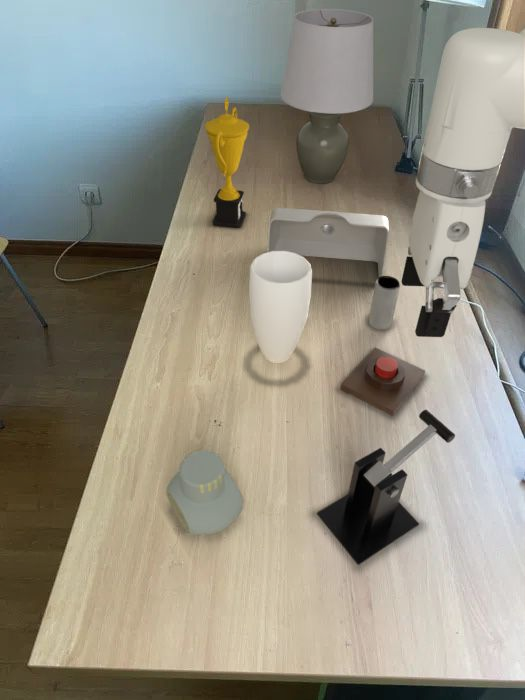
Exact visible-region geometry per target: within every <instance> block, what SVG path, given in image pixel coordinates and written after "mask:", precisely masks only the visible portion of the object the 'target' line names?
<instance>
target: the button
mask: <svg viewBox="0 0 525 700" xmlns="http://www.w3.org/2000/svg"><path fill="white" fill-rule="evenodd" d="M397 368H398V364H397V362H396V361H395V360H394V359H392V358H390V357H381V358H379V359H378V360H377V362H376V367H375V372H376V374H377V375H378V376H380V377H382V378H387V379H389V378H392V377H394V376H395V375H396V372H397Z"/></svg>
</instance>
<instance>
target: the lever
mask: <svg viewBox="0 0 525 700" xmlns="http://www.w3.org/2000/svg"><path fill="white" fill-rule="evenodd" d="M418 418H419V419H420V420H421V421H422V422H423V423H424V424H425V425H426V428H424V429H423V430H422V431H421V432H420V433H419V434H417V436H415V437H414V438H413V439H412V440H411V441H410V442H408V443H407V444H406V445H405V446H404V447H402V449H400V450H399V451H398V452H396V454H395V455H393V456H392V457H390V459H389V460H388V461H387V462H385V463H384V462H383V463H382V462H381V461H378V462H377V463H376V464H375V465H374V466H373V467H372V468H370V469H369V470H368V471H367V472H366V473H365V474H364V477H365V479H366V480H367V482H368V483H369V484H370V485H371V486H372V487H373V488H374V489H375V487H376V485H377V484H378V483H380V482H382V481H383V480H385V479H387V478H388V477H390V476H392V475H393V472H394V471H396V470H397V469H398V468H399V467H400V466H402V465H403V463H405V462H406V461H407V460H408V459H409V458H410V457H411V456H413V455H414V454H415V453H416V452H418V450H420V448H422V447H423V446H424V445H426V444H427V443H428V441H430V440H431V439H432V438H433V437H434V436H436V435H438V436H439V437H440V438H441V440H443V441H444V442H445V443H447V444H449V443H451V442H452V441H453V440H454V439H455V438H456V434H455V433H454V432H453V431H452V430H451V429H449V428H448V426H446V425H445V424H444V423H443V422H442V421H441V420H440V419H438V418H437V417H436V416H435V415H433V414H432V413H431V412H430V411H429V410H428V409H424V410H423V411H421V412H420V413H419V415H418Z"/></svg>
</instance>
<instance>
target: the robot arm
mask: <svg viewBox="0 0 525 700" xmlns="http://www.w3.org/2000/svg"><path fill="white" fill-rule="evenodd" d="M513 128H517V129H522V130H525V28H523V29H522V30H521V31H520V32H519V33H518V32H515V31H511V30H507V29H501V28H493V27H472V28H465V29H461V30H459V31H457V32H455V33H454V34H453V35H451V36H450V38H449V39H448V40H447V42H446V44H445V46H444V48H443V51H442V55H441V61H440V64H439V69H438V74H437V78H436V84H435V88H434V92H433V97H432V101H431V107H430V111H429V115H428V120H427V126H426V130H425V135H424V138H423V145H422V149H421V153H420V158H419V162H418V167H417V172H416V176H415V186H416V188H417V189H418V190H419V192H418V196H417V200H416V203H415V206H414V208H415V209H414V212H413V215H412V219H411V220H412V221H411V224H410V230H409V237H408V242H409V243H408V244H409V246H408V247H407V255H408V256H406V259H405V263H404V267H403V271H402V276H401V282H400V283H401V285H402V286H404V287H425V304H424V305H421V307H420V311H419V315H418V318H417V322H416V327H415V331H414V333H415V336H416V337H420V338H421V337H423V338H425V337H426V338H443V337H444V336H445V334H446V332H447V328H448V324H449V322H450V318H451V316H452V313H453V312H454V311H455V309H456V308H457V304H458V303H459V302H460V300H461V297H462V295H461V290H464V289H466V287H468V284H469V282H470V278H471V275H472V272H473V268H474V264H475V261H476V258H477V257H476V256H477V252H478V249H479V246H480V245H479V244H480V240H481V236H482V230H483V226H484V220H485V213H486V203H487V202H486V200H488V199H489V198H490V197H491V195H492V193H493V190H494V187H495V184H496V181H497V177H498V175H499V172H500V167H501V165H502V161H503V158H504V156H505V152H506V149H507V145H508V143H509V139H510V137H511V133H512V130H513ZM438 277H441V278H442V281H435V280H436V279H437V278H438ZM435 289H443V293H442V295H441V297H438V298H436V299H435V296H434V295H435Z"/></svg>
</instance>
